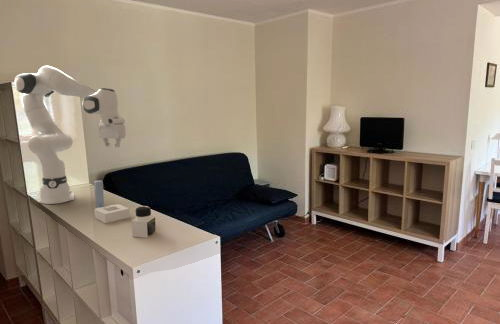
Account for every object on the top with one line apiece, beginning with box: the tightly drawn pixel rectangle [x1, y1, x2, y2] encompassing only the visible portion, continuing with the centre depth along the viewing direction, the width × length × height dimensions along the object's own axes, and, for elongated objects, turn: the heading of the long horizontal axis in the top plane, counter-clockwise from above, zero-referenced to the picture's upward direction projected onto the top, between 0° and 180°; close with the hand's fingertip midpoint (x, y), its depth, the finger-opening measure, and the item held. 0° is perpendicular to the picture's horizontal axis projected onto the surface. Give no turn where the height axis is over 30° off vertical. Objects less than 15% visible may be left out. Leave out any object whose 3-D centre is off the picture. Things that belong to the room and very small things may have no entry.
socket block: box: [93, 203, 130, 224], centre depth 168 cm, size 12×12×4 cm
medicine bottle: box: [131, 205, 157, 239], centre depth 145 cm, size 7×7×12 cm
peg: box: [93, 180, 105, 208], centre depth 177 cm, size 4×4×16 cm
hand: (112, 146), depth 179 cm, fingers open, 8 cm apart
